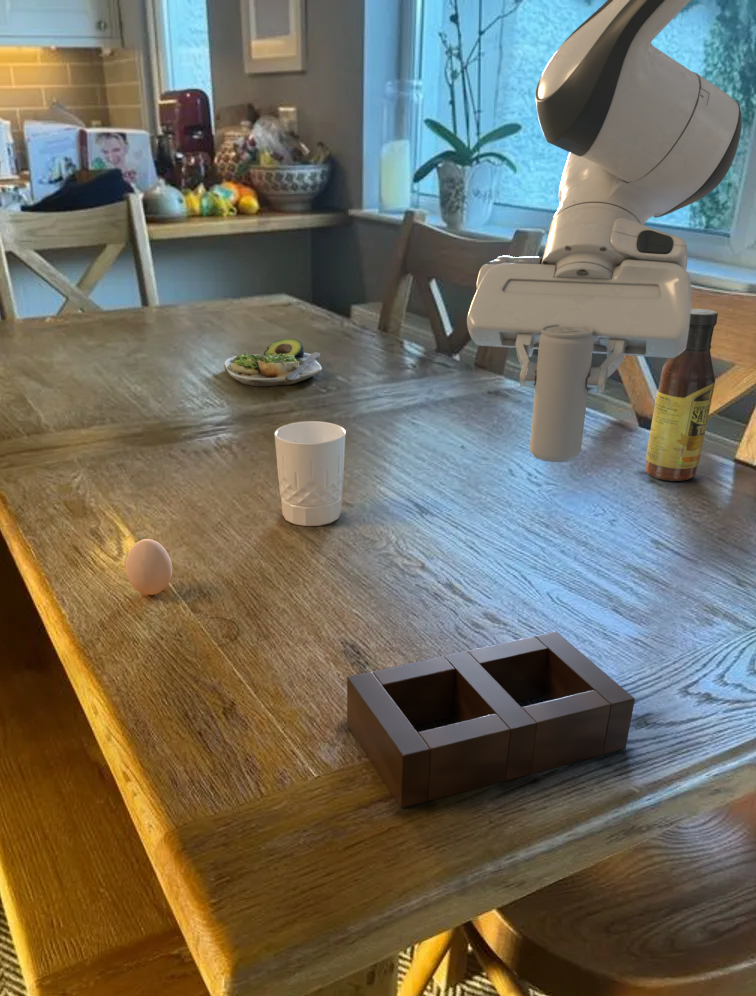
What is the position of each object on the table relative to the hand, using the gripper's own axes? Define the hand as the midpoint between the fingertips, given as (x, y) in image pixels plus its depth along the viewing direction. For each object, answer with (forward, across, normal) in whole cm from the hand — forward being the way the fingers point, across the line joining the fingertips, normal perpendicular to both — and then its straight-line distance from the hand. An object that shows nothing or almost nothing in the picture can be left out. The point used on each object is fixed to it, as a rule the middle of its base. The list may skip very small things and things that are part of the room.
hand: (561, 386), depth 84 cm
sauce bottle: (-8, +10, +35) cm, 37 cm away
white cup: (+11, -27, +15) cm, 33 cm away
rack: (+34, +2, -9) cm, 36 cm away
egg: (+27, -34, -1) cm, 44 cm away
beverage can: (+5, 0, +6) cm, 7 cm away
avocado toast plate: (-29, -58, +54) cm, 85 cm away
